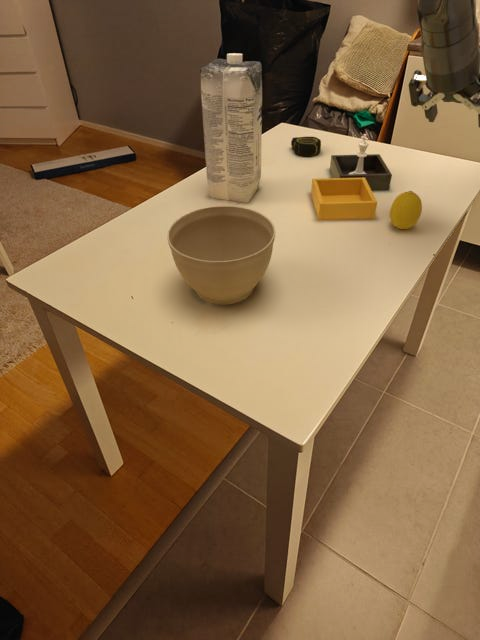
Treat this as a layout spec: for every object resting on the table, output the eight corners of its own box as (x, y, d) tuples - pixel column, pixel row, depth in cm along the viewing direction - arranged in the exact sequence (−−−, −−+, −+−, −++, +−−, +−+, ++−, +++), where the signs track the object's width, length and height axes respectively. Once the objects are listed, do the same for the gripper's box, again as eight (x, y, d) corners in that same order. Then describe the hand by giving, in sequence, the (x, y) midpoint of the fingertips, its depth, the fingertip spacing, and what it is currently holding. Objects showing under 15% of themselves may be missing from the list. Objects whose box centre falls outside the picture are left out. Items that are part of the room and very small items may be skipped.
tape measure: (316, 148, 119) (318, 133, 117) (322, 159, 114) (324, 143, 112) (290, 149, 119) (291, 135, 116) (295, 160, 114) (296, 145, 111)
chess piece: (359, 186, 101) (367, 140, 95) (342, 178, 104) (348, 134, 98) (373, 179, 104) (381, 134, 97) (356, 172, 107) (363, 128, 100)
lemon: (396, 219, 92) (405, 181, 86) (421, 229, 89) (432, 191, 83) (380, 230, 89) (389, 191, 83) (406, 240, 86) (416, 201, 80)
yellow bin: (361, 195, 100) (364, 177, 97) (373, 221, 91) (377, 202, 89) (310, 196, 99) (312, 178, 97) (317, 222, 91) (320, 203, 88)
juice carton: (250, 208, 96) (250, 63, 78) (204, 200, 99) (194, 59, 81) (263, 189, 102) (266, 52, 84) (219, 183, 105) (213, 48, 87)
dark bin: (376, 171, 108) (379, 154, 106) (388, 192, 100) (392, 174, 97) (329, 172, 108) (331, 155, 106) (337, 193, 100) (339, 176, 97)
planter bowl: (244, 251, 84) (244, 196, 77) (291, 300, 73) (295, 242, 66) (161, 276, 79) (152, 219, 71) (198, 333, 68) (192, 273, 61)
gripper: (514, 28, 64) (510, 105, 77) (413, 28, 71) (426, 98, 85) (492, 76, 63) (492, 145, 77) (393, 70, 71) (409, 134, 84)
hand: (457, 120), depth 81 cm, fingers open, 8 cm apart
